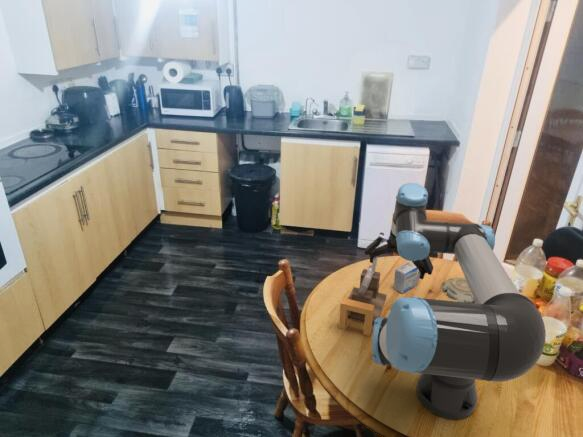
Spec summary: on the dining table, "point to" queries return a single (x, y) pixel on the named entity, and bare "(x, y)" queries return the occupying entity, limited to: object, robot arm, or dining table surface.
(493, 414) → the dining table surface
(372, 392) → the dining table surface
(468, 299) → the decorative bowl
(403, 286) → the medicine box
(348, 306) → the orange open frame
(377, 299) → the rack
